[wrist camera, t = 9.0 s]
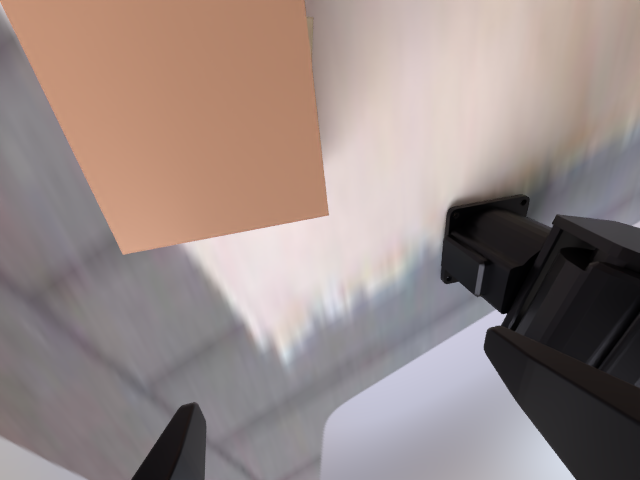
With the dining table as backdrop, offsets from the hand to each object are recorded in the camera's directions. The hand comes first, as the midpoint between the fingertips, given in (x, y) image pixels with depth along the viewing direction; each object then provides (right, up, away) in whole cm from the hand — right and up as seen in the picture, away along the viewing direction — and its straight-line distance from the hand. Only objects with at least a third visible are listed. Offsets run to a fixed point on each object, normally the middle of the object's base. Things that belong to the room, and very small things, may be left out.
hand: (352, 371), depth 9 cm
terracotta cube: (-5, +9, +4) cm, 11 cm away
